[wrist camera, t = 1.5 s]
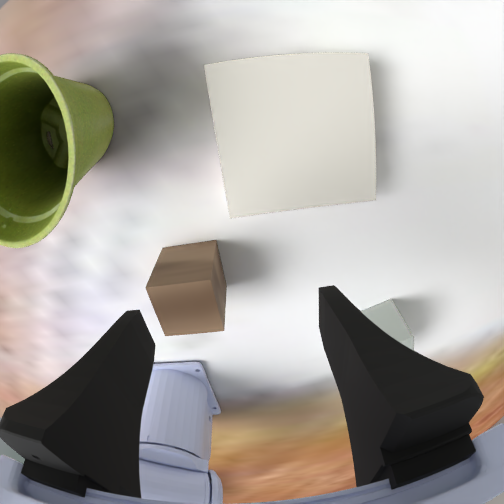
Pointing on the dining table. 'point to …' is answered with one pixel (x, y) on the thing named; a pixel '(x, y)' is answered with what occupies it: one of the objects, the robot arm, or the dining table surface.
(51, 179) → the plant pot
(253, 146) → the cream block
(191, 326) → the walnut block
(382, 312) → the grey cube
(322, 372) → the dining table surface
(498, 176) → the dining table surface
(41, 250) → the dining table surface
